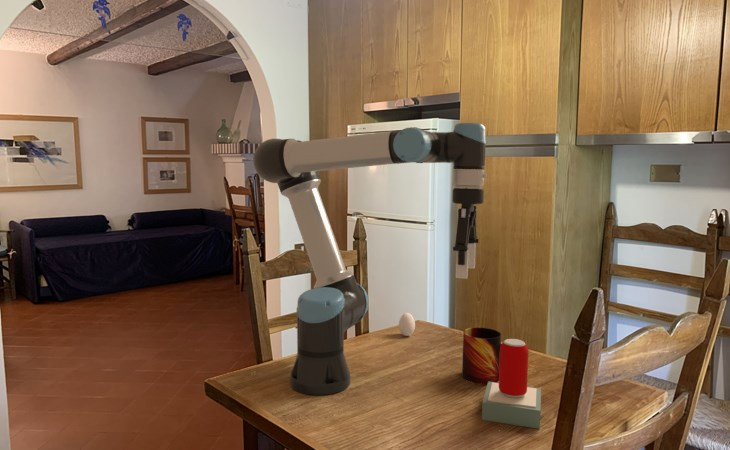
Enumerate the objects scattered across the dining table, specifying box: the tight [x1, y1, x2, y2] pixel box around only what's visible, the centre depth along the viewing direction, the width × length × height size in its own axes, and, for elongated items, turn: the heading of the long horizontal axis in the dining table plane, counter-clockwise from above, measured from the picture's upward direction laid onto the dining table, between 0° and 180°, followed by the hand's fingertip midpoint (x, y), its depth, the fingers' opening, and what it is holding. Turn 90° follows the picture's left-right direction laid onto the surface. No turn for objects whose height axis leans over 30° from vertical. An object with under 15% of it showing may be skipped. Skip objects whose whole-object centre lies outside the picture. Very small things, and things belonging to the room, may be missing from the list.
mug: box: [461, 327, 502, 386], centre depth 139 cm, size 10×14×12 cm
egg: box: [398, 312, 416, 337], centre depth 173 cm, size 5×5×8 cm
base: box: [481, 381, 542, 430], centre depth 119 cm, size 12×12×4 cm
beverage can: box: [498, 338, 530, 398], centre depth 118 cm, size 6×6×12 cm
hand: (465, 273), depth 132 cm, fingers open, 13 cm apart
